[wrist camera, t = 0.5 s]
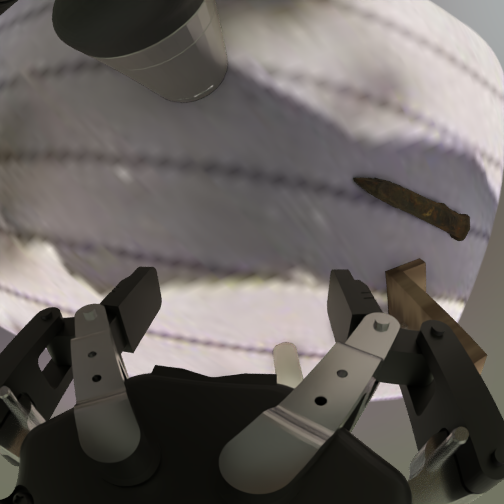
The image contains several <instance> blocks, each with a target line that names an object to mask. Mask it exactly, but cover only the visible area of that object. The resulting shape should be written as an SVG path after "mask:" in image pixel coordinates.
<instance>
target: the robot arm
mask: <svg viewBox="0 0 504 504" xmlns="http://www.w3.org/2000/svg"><path fill="white" fill-rule="evenodd" d="M17 1H18V0H0V15H1V14H3V13H4V12H5V11H6V10H7V9H8V8H9V7H11V6H12V5H13V4H14V3H15V2H17ZM52 22H53V27H54V30H55V32H56V34H57V35H58V37H59V38H60V39H61V40H62V41H63V42H64V43H66V44H67V45H69V46H71V47H72V48H74V49H76V50H78V51H80V52H82V53H84V54H86V55H88V56H90V57H92V58H94V59H96V60H98V61H100V62H102V63H104V64H105V65H107V66H110V67H111V68H113V69H115V70H117V71H119V72H121V73H122V74H124V75H126V76H128V77H129V78H131V79H133V80H135V81H136V82H138V83H140V84H142V85H143V86H145V87H147V88H148V89H150V90H152V91H153V92H155V93H157V94H158V95H160V96H162V97H163V98H165V99H167V100H170V101H173V102H181V103H182V102H191V101H195V100H199V99H201V98H203V97H205V96H207V95H208V94H210V93H211V92H213V91H214V90H215V89H216V88H217V87H218V86H219V85H220V83H221V82H222V80H223V79H224V76H225V74H226V71H227V65H228V62H227V54H226V49H225V44H224V39H223V34H222V29H221V24H220V19H219V15H218V10H217V5H216V1H215V0H55V3H54V7H53V13H52ZM161 302H162V298H161V292H160V287H159V282H158V276H157V271H156V269H155V268H154V267H138V268H137V269H136V270H135V271H134V272H133V273H132V274H131V276H129V277H127V278H125V279H124V280H122V281H121V282H120V283H119V284H118V285H117V286H116V288H114V289H113V290H112V292H110V293H109V294H108V295H107V296H106V297H105V298H104V300H103V301H102V302H101V303H100V304H90V305H86V306H84V307H82V308H80V309H79V310H78V311H77V312H76V313H75V317H70V318H63V317H62V314H61V312H60V310H59V309H58V308H55V307H51V308H46V309H44V310H42V311H40V312H39V313H38V314H36V315H35V316H34V318H33V319H32V320H31V321H30V322H29V323H28V324H27V325H26V326H25V327H24V328H23V329H22V330H21V331H20V332H19V333H18V334H17V335H16V337H15V338H14V339H13V340H12V341H11V342H10V343H9V344H8V345H7V347H6V348H5V349H4V350H3V351H2V352H1V353H0V454H1V455H2V456H3V457H4V458H5V459H6V460H8V462H10V463H11V464H12V465H14V466H19V474H18V479H17V484H16V487H15V489H14V491H13V493H12V494H11V495H10V496H8V497H7V498H5V499H2V500H0V504H469V503H470V502H472V501H473V500H475V499H477V498H478V497H480V496H481V495H483V494H484V493H486V492H487V491H488V490H490V489H491V488H493V487H494V486H495V485H497V484H498V483H499V482H501V481H502V480H503V479H504V420H503V418H502V416H501V414H500V412H499V410H498V408H497V406H496V403H495V402H494V400H493V398H492V396H491V394H490V392H489V390H488V388H487V386H486V384H485V383H484V381H483V379H482V377H481V375H480V374H479V372H478V370H477V369H476V367H475V365H474V363H473V362H472V360H471V358H470V357H469V355H468V354H467V352H466V350H465V349H464V347H463V346H462V344H461V342H460V341H459V339H458V338H457V336H456V335H455V333H454V332H453V330H452V329H451V328H450V327H449V326H448V325H447V324H445V323H443V322H441V321H437V320H427V321H425V322H423V323H422V324H421V327H420V330H419V331H415V330H408V329H402V328H400V324H399V322H398V321H397V319H395V318H394V317H393V316H391V315H388V314H385V313H383V312H382V311H381V309H380V307H379V305H378V303H377V302H376V300H375V299H374V296H373V295H372V293H371V291H370V290H369V288H368V286H367V285H366V284H364V283H363V282H361V281H360V280H354V279H353V277H352V275H351V273H350V271H349V270H348V269H347V270H332V271H331V275H330V283H329V292H328V300H327V311H328V316H329V320H330V323H331V327H332V331H333V334H334V338H335V342H336V344H335V345H334V346H333V347H332V348H331V349H330V351H329V352H328V353H327V354H326V355H325V356H324V358H323V359H322V360H321V361H320V362H319V363H318V364H317V365H316V366H315V368H314V369H313V370H312V371H311V372H310V373H309V374H308V375H307V376H306V377H305V378H304V379H303V381H302V382H301V383H300V384H299V385H298V386H297V387H296V388H295V389H294V388H292V387H289V386H286V385H283V384H278V383H277V374H247V373H245V374H238V375H230V376H221V377H208V376H205V375H201V374H198V373H195V372H192V371H189V370H185V369H182V368H173V367H166V366H158V365H155V367H154V369H153V371H152V373H148V374H141V375H137V376H134V377H130V378H129V376H128V373H127V370H126V367H125V364H124V361H123V358H122V356H121V353H122V352H123V351H124V352H130V353H134V351H135V349H136V348H137V346H138V344H139V343H140V341H141V339H142V338H143V336H144V334H145V333H146V331H147V329H148V328H149V326H150V324H151V323H152V321H153V319H154V318H155V316H156V315H157V313H158V311H159V310H160V307H161ZM45 348H47V350H48V352H49V353H50V355H51V357H52V359H51V360H50V361H49V363H48V364H47V366H46V367H45V368H44V370H43V371H41V370H40V368H39V365H38V358H39V356H40V354H41V353H42V352H43V351H44V349H45ZM72 379H74V387H75V395H76V405H75V406H74V407H73V408H72V409H70V410H68V411H66V412H64V413H62V414H60V415H58V416H56V417H54V418H52V419H50V417H51V416H52V414H53V412H54V410H55V408H56V407H57V405H58V403H59V401H60V400H61V398H62V396H63V395H64V393H65V391H66V389H67V388H68V386H69V384H70V383H71V381H72ZM380 382H384V383H391V384H399V386H400V389H401V392H402V395H403V398H404V401H405V405H406V408H407V411H408V415H409V418H410V422H411V425H412V429H413V433H414V436H415V440H416V444H417V448H418V453H417V454H416V455H415V456H414V458H413V459H412V461H411V463H410V475H409V479H408V481H407V480H406V478H405V477H404V476H403V475H402V473H400V471H398V470H397V469H396V468H395V467H393V466H392V465H391V464H389V463H388V462H387V461H385V460H384V459H383V458H382V457H380V456H379V455H378V454H376V453H375V452H374V451H372V450H371V449H370V448H369V447H368V446H366V445H365V444H364V443H363V442H361V441H360V440H359V439H358V438H356V437H355V436H354V435H353V434H351V432H352V430H353V429H354V427H355V425H356V423H357V421H358V420H359V418H360V416H361V414H362V413H363V411H364V410H365V408H366V406H367V405H368V403H369V401H370V400H371V398H372V396H373V394H374V393H375V391H376V389H377V387H378V386H379V384H380ZM49 419H50V420H49Z"/></svg>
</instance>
